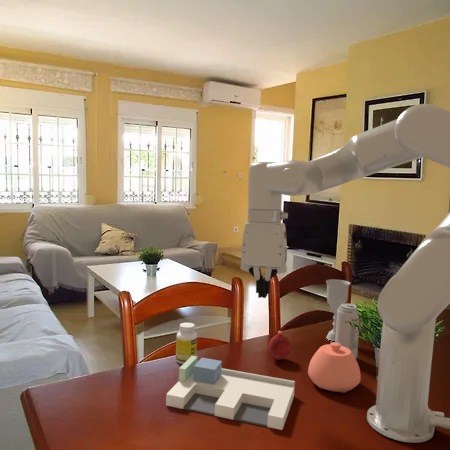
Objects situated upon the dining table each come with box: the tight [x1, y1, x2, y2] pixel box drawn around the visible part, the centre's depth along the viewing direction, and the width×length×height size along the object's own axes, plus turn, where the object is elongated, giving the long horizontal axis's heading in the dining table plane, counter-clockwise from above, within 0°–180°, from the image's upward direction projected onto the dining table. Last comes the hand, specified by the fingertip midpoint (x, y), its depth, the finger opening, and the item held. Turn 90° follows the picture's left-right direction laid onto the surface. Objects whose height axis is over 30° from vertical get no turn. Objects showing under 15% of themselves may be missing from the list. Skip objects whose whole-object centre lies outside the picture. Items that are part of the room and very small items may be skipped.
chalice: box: [325, 279, 351, 342], centre depth 134 cm, size 7×7×18 cm
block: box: [194, 357, 223, 385], centre depth 100 cm, size 5×5×4 cm
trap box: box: [165, 355, 296, 431], centre depth 95 cm, size 25×14×6 cm, turn 72°
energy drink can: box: [335, 302, 361, 360], centre depth 119 cm, size 6×6×15 cm
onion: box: [268, 330, 292, 361], centre depth 117 cm, size 6×6×8 cm
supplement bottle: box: [175, 322, 198, 365], centre depth 115 cm, size 5×5×10 cm
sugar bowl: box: [307, 341, 362, 394], centre depth 105 cm, size 12×14×10 cm
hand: (262, 296), depth 100 cm, fingers closed
